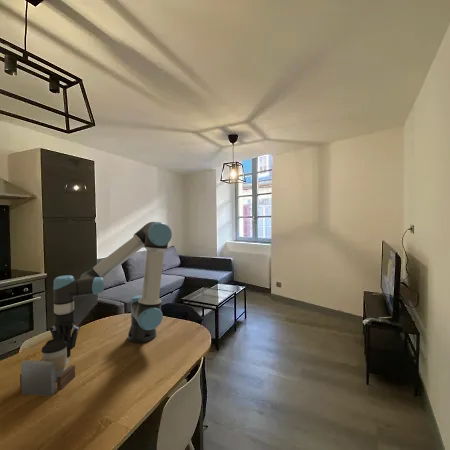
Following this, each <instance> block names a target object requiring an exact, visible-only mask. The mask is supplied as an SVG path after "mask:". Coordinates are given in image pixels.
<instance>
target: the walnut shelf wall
mask: <svg viewBox="0 0 450 450" xmlns="http://www.w3.org/2000/svg"><path fill="white" fill-rule="evenodd" d="M39 361H43V358H42V359H40V360H39ZM74 378H76V365H75V364H70V366H69V367H66V370H65V371H64V372H63V373H61V374H60V375H59V376H58V377H57V381H56V382H57V383H56V384H57V388H56V389H57V391H62V390H63V389H64V388H65V387H66V386H67V385H68V384H69V383H70V382H71V381H73V379H74ZM19 388H20V390H21V391H22V382H21V373H20V374H19Z"/></svg>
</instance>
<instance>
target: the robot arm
mask: <svg viewBox="0 0 450 450" xmlns="http://www.w3.org/2000/svg"><path fill="white" fill-rule="evenodd" d="M132 236H133V237H131V238H130V239H128V241H126V242H125V243H123V244H122V245H121V246H119V247H118V248H116V249H115V251H113V252H112V253H110V254H109V255H108V256H107V257H105V258H103V260H101V261H100V262H98V263H97V264H96V265H94V266H93V267H92V268H90V269H89V270H88V271H85V272H83V273H82V274H81V275H80V276H79V277H80V278H79V279H75V277H74V276H73V275H71V274H70V275H66V274H65V275H60V276H56V277H55V278H54V280H53V288H52V289H53V290H52V291H53V313H54V315H53V319H54V320H53V322H54V325H53V326H51V327H49V331H50V333H51V337H52V339H64V340H65V341H67V344H68V345H67V362H66V366H67V365H69V364H70V357H71V351H72V350H73V349H74V348H75V347H76V343H77V338H78V335H79V333H78V332H79V331H80V329H81V326H77V325H76V323H75V321H74V320H75V298H76V297H84V296H91V295H98V294H102V293H104V290H105V282H104V278H106V277H107V276H108V275H109V274H111V273H112V272H114V270H116V269H117V268H118V267H119V266H121V265H122V264H123V263H125V262H126V261H127V260H129V259H130V258H131V257H132V256H134V255H135V254H136V253H137V252H138V251H140V250H142V249H144V248H145V250H146V258H145V265H144V273H143V283H142V291H141V292H142V293H141V294H140V295H139V294H138V295H135V296H133V297H131V299H130V312H131V313H130V319H131V320H130V327H129V331H128V333H127V339H128V341H129V342H131V343H133V344H134V343H135V344H141V343H142V344H143V343H146V342H149V341H152V340H153V339H155V338H156V337H157V329H156V328H158V327H159V326H160V325H161V323H162V321H163V315H164V314H163V312H162V302H163V301H162V299H161V298H160V293H161V285H162V274H163V273H162V272H163V266H164V255H165V252H166V251H167V250H168V247H169V243H170V241H171V239H172V236H173V232H172V229H171V228H170V226H169V225H168V224H167V223H165V222H161V221H150V222H148V223H145V225H142V227H141V228H140V229H139V230H137V231H136V232H134V233H133V235H132Z"/></svg>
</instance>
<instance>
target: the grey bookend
mask: <svg viewBox="0 0 450 450" xmlns="http://www.w3.org/2000/svg"><path fill="white" fill-rule="evenodd" d="M20 374H21V382H22V390H21V395H25V396H26V395H27V396H39V397H40V396H42V397H53V396H54V395H55V393H56V392H57V391H56V389H57V388H56V384H57V383H56V382H57V381H55V361H40V360H31V359H30V360H29V359H28V360H27V359H26V360H24V361H22V362H20Z"/></svg>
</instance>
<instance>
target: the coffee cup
mask: <svg viewBox="0 0 450 450" xmlns="http://www.w3.org/2000/svg"><path fill="white" fill-rule="evenodd" d="M67 345H68V344H67V341H65V340H64V339H53V338H52V339H50V340H48V341H46V343H45V344H44V345H43V346H42V348H41V353H42V357H41V358H42V359H43V361H55V381H56V382H57V377H58V376H59V375H60V374H61V373H63V372H64V371H65V370H66V369H67V365H66V362H67Z"/></svg>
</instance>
